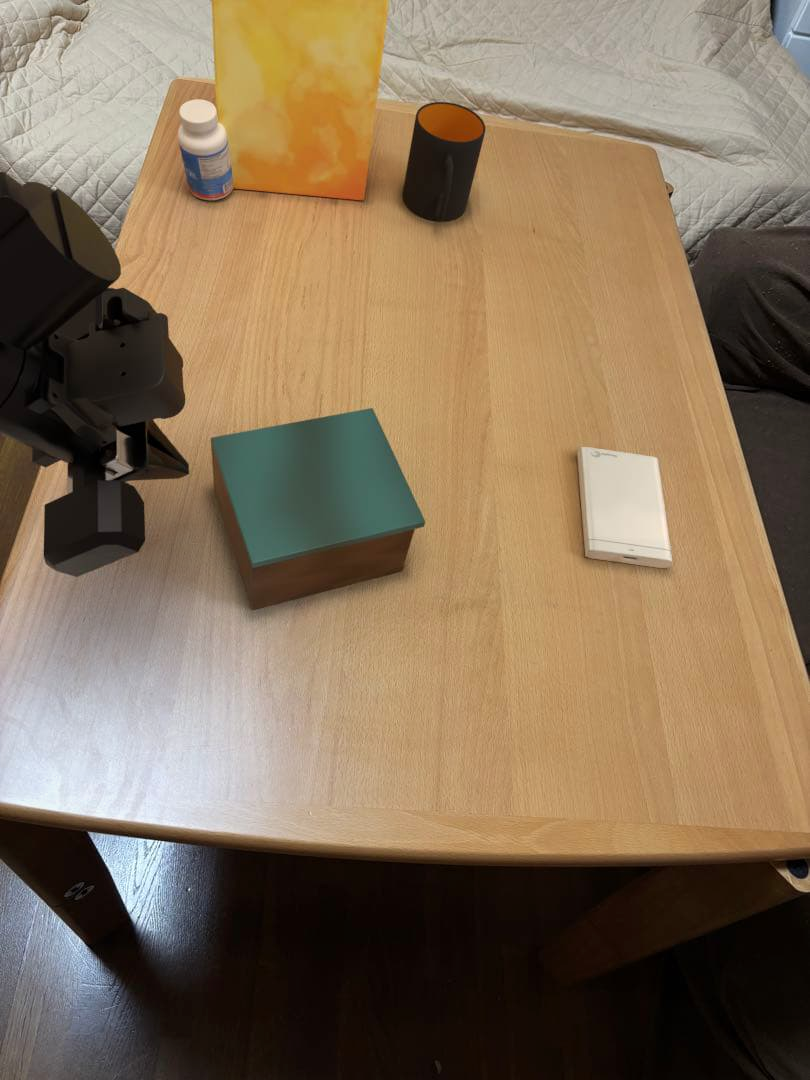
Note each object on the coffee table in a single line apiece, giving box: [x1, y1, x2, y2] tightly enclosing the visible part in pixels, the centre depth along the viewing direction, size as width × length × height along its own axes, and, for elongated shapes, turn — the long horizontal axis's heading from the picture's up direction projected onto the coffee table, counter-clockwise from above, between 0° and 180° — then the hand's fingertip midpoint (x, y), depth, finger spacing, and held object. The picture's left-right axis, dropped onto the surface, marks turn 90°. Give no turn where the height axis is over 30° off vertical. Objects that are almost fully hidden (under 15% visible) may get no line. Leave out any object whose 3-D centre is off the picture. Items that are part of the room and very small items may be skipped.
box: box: [210, 444, 416, 611], centre depth 68 cm, size 14×13×7 cm
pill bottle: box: [177, 98, 234, 201], centre depth 91 cm, size 6×5×10 cm
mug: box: [401, 101, 486, 222], centre depth 96 cm, size 8×12×10 cm
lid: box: [210, 407, 426, 568], centre depth 65 cm, size 14×13×1 cm
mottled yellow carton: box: [211, 0, 390, 201], centre depth 90 cm, size 18×12×24 cm
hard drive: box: [576, 446, 673, 569], centre depth 78 cm, size 2×8×12 cm
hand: (184, 471), depth 58 cm, fingers closed
